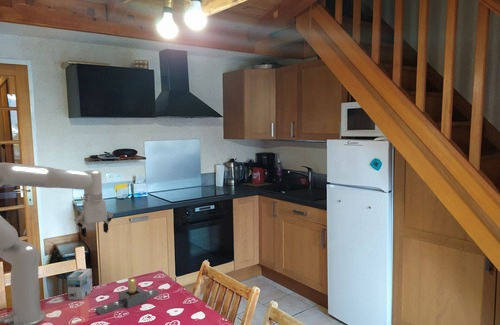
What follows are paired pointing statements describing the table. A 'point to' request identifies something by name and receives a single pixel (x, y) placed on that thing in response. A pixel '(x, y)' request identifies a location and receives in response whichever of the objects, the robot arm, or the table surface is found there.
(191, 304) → the table surface
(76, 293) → the light bulb box
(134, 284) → the brass pin
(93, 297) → the table surface
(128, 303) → the grey slotted base plate
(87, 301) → the table surface
